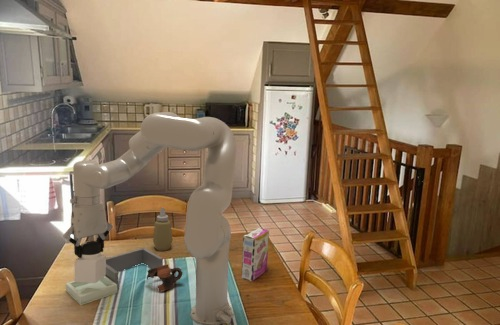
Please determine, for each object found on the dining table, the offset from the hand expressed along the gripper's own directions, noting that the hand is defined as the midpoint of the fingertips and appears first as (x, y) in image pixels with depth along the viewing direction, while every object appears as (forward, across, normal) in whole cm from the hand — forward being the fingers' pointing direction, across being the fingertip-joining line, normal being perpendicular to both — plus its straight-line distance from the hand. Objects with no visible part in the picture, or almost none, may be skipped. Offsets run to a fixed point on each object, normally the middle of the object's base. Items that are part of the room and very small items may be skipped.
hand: (89, 253), depth 128 cm
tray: (+14, 0, 0) cm, 14 cm away
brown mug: (+15, +21, -14) cm, 29 cm away
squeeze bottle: (+14, +38, +16) cm, 43 cm away
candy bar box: (+14, +50, -27) cm, 58 cm away
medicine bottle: (+8, -1, -2) cm, 9 cm away
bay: (+14, +16, +2) cm, 21 cm away
